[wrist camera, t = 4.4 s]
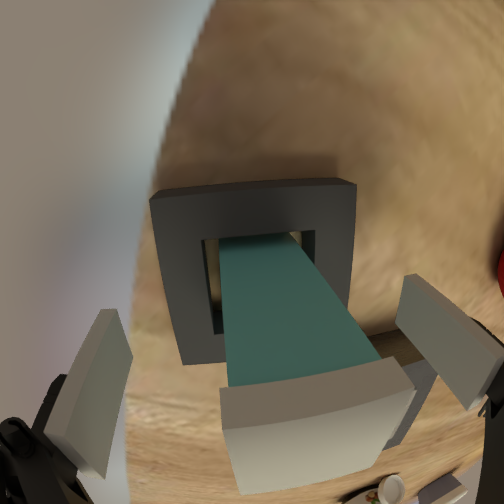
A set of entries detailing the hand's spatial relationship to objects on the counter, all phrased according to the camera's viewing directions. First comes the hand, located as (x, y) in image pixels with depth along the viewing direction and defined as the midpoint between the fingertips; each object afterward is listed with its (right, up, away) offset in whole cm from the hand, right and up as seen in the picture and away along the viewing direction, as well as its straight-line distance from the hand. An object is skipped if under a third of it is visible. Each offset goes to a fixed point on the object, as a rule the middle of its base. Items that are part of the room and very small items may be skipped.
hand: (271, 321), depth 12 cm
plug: (-1, +2, +5) cm, 6 cm away
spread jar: (+21, -42, +26) cm, 54 cm away
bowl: (+56, -70, +42) cm, 99 cm away
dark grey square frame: (-1, +2, +5) cm, 6 cm away
